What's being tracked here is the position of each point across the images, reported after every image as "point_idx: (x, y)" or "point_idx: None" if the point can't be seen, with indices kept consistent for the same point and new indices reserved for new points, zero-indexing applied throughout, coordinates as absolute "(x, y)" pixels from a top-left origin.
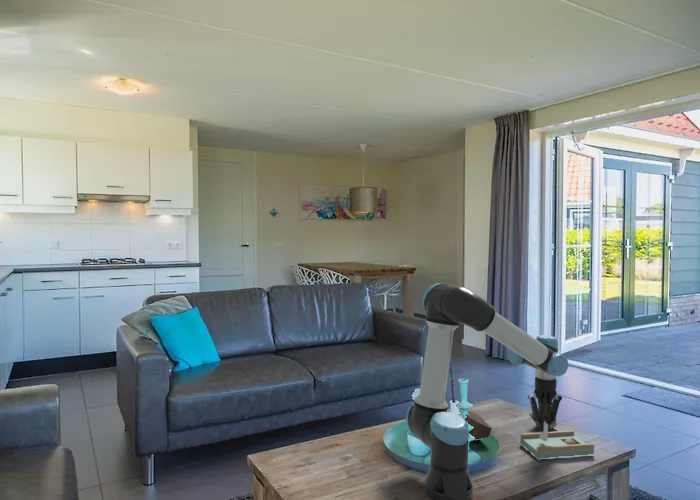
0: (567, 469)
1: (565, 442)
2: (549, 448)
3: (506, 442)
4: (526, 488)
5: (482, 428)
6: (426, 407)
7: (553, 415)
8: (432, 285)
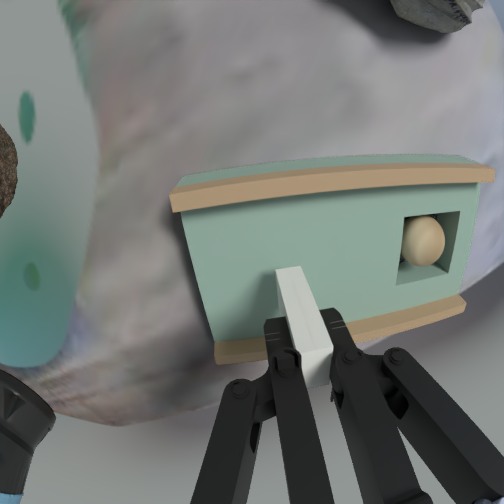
0: None
1: (407, 247)
2: None
3: (117, 145)
4: (144, 421)
5: None
6: None
7: (394, 419)
8: None
